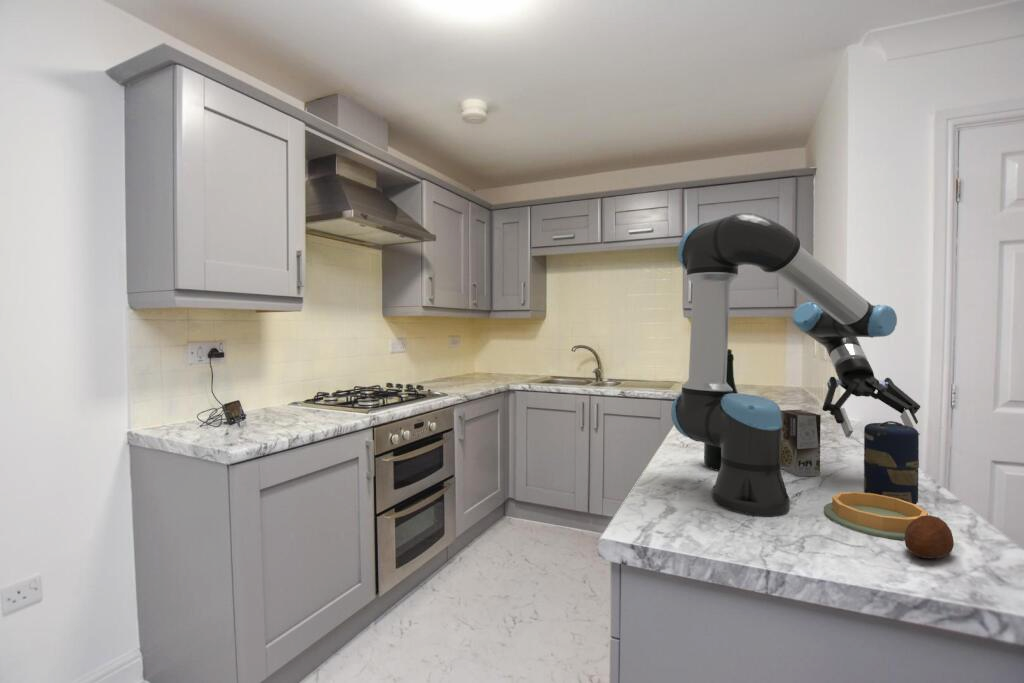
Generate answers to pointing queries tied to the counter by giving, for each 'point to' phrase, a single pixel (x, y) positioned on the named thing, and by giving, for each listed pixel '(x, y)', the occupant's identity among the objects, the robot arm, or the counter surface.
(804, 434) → the coffee box
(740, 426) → the robot arm
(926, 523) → the potato
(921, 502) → the counter surface
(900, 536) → the green orange round dish
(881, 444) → the canister
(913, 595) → the counter surface
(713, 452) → the dark wine bottle
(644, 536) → the counter surface
